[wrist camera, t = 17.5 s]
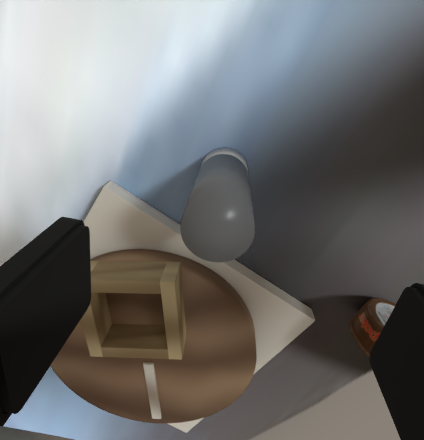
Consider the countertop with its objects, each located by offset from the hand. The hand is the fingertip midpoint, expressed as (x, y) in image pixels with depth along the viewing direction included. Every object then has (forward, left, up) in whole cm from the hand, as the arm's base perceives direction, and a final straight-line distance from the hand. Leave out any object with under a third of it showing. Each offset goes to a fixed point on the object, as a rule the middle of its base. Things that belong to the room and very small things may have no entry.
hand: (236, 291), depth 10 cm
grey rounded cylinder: (+1, 0, -16) cm, 16 cm away
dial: (+18, +4, -14) cm, 23 cm away
